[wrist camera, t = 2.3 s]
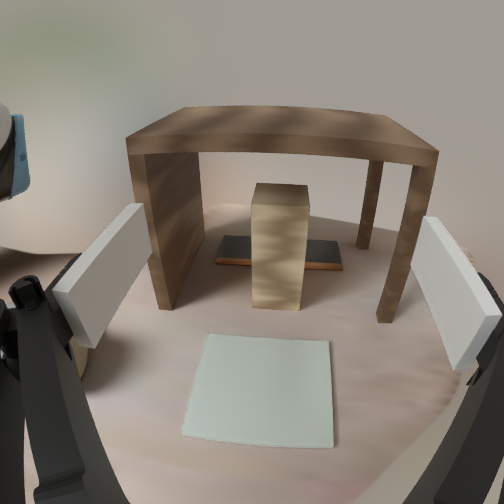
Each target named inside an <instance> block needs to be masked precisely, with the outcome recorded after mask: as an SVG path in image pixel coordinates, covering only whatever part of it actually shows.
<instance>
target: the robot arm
mask: <svg viewBox="0 0 504 504" xmlns="http://www.w3.org/2000/svg"><path fill="white" fill-rule="evenodd" d="M29 185H30V175H29V168H28V161H27V153H26V143H25V133H24V119H23V116H22V115H21V114H12V115H11V114H10V112H9V109H8V108H7V107H6V106H5V105H4V104H2V103H0V202H2V201H5V200H7V199H8V200H9V199H12V198H13V196H16V195H18V194H20V193H22V192H24V191H25V190H27V188H28V187H29ZM151 254H152V247H151V242H150V237H149V232H148V227H147V221H146V216H145V210H144V205H143V203H130V204H128V205H127V206H126V207H125V208H124V209H123V210H122V211H121V212H120V213H119V214H118V215H117V217H116V218H115V219H114V220H113V221H112V222H111V223H110V224H109V225H108V226H107V227H106V228H105V229H104V230H103V231H102V232H101V233H100V235H99V236H98V237H97V238H96V239H95V240H94V241H93V242H92V243H91V245H90V246H89V247H88V248H87V249H86V250H85V251H84V252H83V253H80V254H79V255H77V256H76V257H74V258H73V259H71V260H70V261H69V263H68V264H67V265H66V266H65V268H64V269H63V270H62V271H61V272H60V273H59V275H57V277H56V278H55V279H54V280H53V281H52V283H51V284H50V285H49V286H48V287H47V289H46V290H45V291H43V289H42V286H41V284H40V282H39V280H38V277H36V276H34V275H28V276H24V277H22V278H20V279H18V280H17V281H16V282H14V283H13V284H12V286H11V287H10V289H9V292H8V293H9V295H10V297H11V299H12V301H13V302H14V304H15V306H16V308H7V306H6V304H5V302H4V300H2V299H0V353H1V351H2V352H3V356H2V358H1V354H0V504H26V503H25V488H24V425H25V418H26V424H27V430H28V435H29V440H30V445H31V450H32V454H33V458H34V462H35V466H36V470H37V474H38V478H39V486H38V487H37V488H35V489H34V493H33V496H34V501H35V504H130V503H129V501H128V500H127V498H126V497H125V495H124V493H123V491H122V489H121V487H120V484H119V482H118V480H117V478H116V476H115V473H114V471H113V469H112V467H111V464H110V462H109V460H108V457H107V455H106V452H105V450H104V447H103V445H102V442H101V440H100V437H99V434H98V432H97V429H96V426H95V423H94V420H93V417H92V415H91V412H90V409H89V406H88V402H87V399H86V396H85V393H84V389H83V386H82V383H81V379H80V375H79V372H78V368H77V364H76V360H75V356H74V352H73V348H72V346H71V344H70V342H69V341H70V340H71V338H72V336H73V335H74V337H75V339H76V341H77V343H78V344H79V346H83V347H88V348H92V349H95V348H96V346H97V344H98V342H99V340H100V339H101V337H102V335H103V333H104V331H105V330H106V328H107V326H108V324H109V323H110V321H111V319H112V317H113V316H114V314H115V312H116V311H117V309H118V307H119V305H120V304H121V302H122V300H123V299H124V297H125V295H126V294H127V292H128V290H129V289H130V287H131V286H132V284H133V282H134V281H135V279H136V277H137V276H138V274H139V273H140V271H141V269H142V268H143V266H144V265H145V263H146V261H147V260H148V258H149V257H150V255H151ZM410 265H411V267H412V270H413V272H414V274H415V276H416V278H417V281H418V283H419V285H420V287H421V290H422V292H423V294H424V296H425V299H426V301H427V303H428V306H429V308H430V311H431V313H432V316H433V318H434V321H435V323H436V326H437V328H438V331H439V333H440V336H441V339H442V341H443V344H444V347H445V350H446V352H447V355H448V358H449V361H450V364H451V367H452V370H453V371H457V370H465V369H469V368H470V367H471V365H472V364H473V362H474V361H475V359H477V361H478V364H479V367H478V369H477V370H476V372H475V373H474V374H473V376H472V377H471V378H470V380H469V381H468V382H467V384H466V385H469V384H470V386H469V388H468V390H467V392H466V395H465V397H464V399H463V401H462V403H461V406H460V408H459V410H458V412H457V414H456V416H455V418H454V420H453V422H452V424H451V426H450V428H449V430H448V432H447V434H446V435H445V437H444V439H443V441H442V443H441V445H440V446H439V448H438V450H437V452H436V453H435V455H434V457H433V458H432V460H431V462H430V463H429V465H428V466H427V468H426V470H425V471H424V473H423V475H422V476H421V478H420V479H419V481H418V482H417V484H416V485H415V486H414V488H413V489H412V491H411V492H410V494H409V495H408V497H407V498H406V499H405V501H404V502H403V504H483V502H484V500H485V498H486V496H487V494H488V492H489V490H490V488H491V486H492V483H493V481H494V479H495V476H496V474H497V472H498V469H499V467H500V464H501V462H502V459H503V456H504V304H503V302H502V301H501V299H500V298H499V297H498V294H497V293H496V291H495V290H494V288H493V286H492V285H491V283H490V282H489V280H488V279H487V278H486V277H484V276H483V275H482V274H481V273H477V272H476V271H475V269H474V268H473V266H472V265H471V263H470V262H469V260H468V259H467V257H466V256H465V254H464V253H463V251H462V250H461V249H460V247H459V246H458V244H457V243H456V242H455V240H454V239H453V238H452V236H451V235H450V233H449V232H448V231H447V230H446V228H445V227H444V225H443V224H442V223H441V222H440V220H439V219H438V218H437V217H430V216H423V220H422V224H421V228H420V232H419V236H418V239H417V243H416V247H415V250H414V254H413V257H412V261H411V264H410ZM498 504H504V480H503V484H502V489H501V493H500V498H499V502H498Z"/></svg>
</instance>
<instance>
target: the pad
mask: <svg viewBox="0 0 504 504" xmlns="http://www.w3.org/2000/svg"><path fill="white" fill-rule="evenodd" d="M181 435H182V436H186V437H191V438H197V439H204V440H210V441H217V442H225V443H233V444H243V445H253V446H266V447H282V448H333V447H334V440H333V407H332V386H331V368H330V353H329V341H314V340H292V339H274V338H259V337H246V336H234V335H223V334H212V333H208V335H207V339H206V342H205V346H204V350H203V353H202V357H201V361H200V364H199V368H198V371H197V375H196V379H195V383H194V386H193V390H192V394H191V397H190V401H189V405H188V409H187V412H186V416H185V420H184V424H183V428H182V431H181Z"/></svg>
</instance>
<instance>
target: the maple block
mask: <svg viewBox="0 0 504 504" xmlns="http://www.w3.org/2000/svg"><path fill="white" fill-rule="evenodd" d="M309 204H310V203H309V195H308V187H307V185H293V184H271V183H270V184H269V183H257V184H256V188H255V191H254V195H253V199H252V203H251V242H252V308H262V309H278V310H296V311H299V309H300V301H301V292H302V283H303V274H304V265H305V255H306V245H307V235H308V224H309V212H310V205H309Z"/></svg>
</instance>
